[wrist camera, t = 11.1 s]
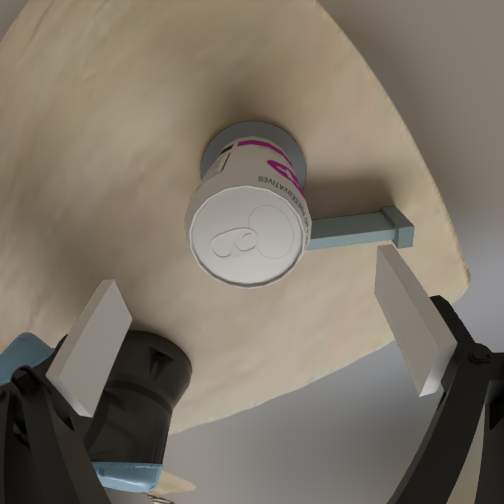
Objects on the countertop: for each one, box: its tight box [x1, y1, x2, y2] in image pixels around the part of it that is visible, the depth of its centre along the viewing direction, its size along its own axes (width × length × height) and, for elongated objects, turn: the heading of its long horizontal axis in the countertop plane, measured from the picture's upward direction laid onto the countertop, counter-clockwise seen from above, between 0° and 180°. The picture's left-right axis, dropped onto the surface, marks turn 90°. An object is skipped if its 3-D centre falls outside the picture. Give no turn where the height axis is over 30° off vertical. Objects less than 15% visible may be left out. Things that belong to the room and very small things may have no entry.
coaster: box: [201, 121, 306, 190], centre depth 32 cm, size 11×11×1 cm
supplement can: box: [184, 136, 312, 289], centre depth 25 cm, size 8×8×15 cm
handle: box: [306, 206, 414, 250], centre depth 33 cm, size 20×2×6 cm, turn 99°
